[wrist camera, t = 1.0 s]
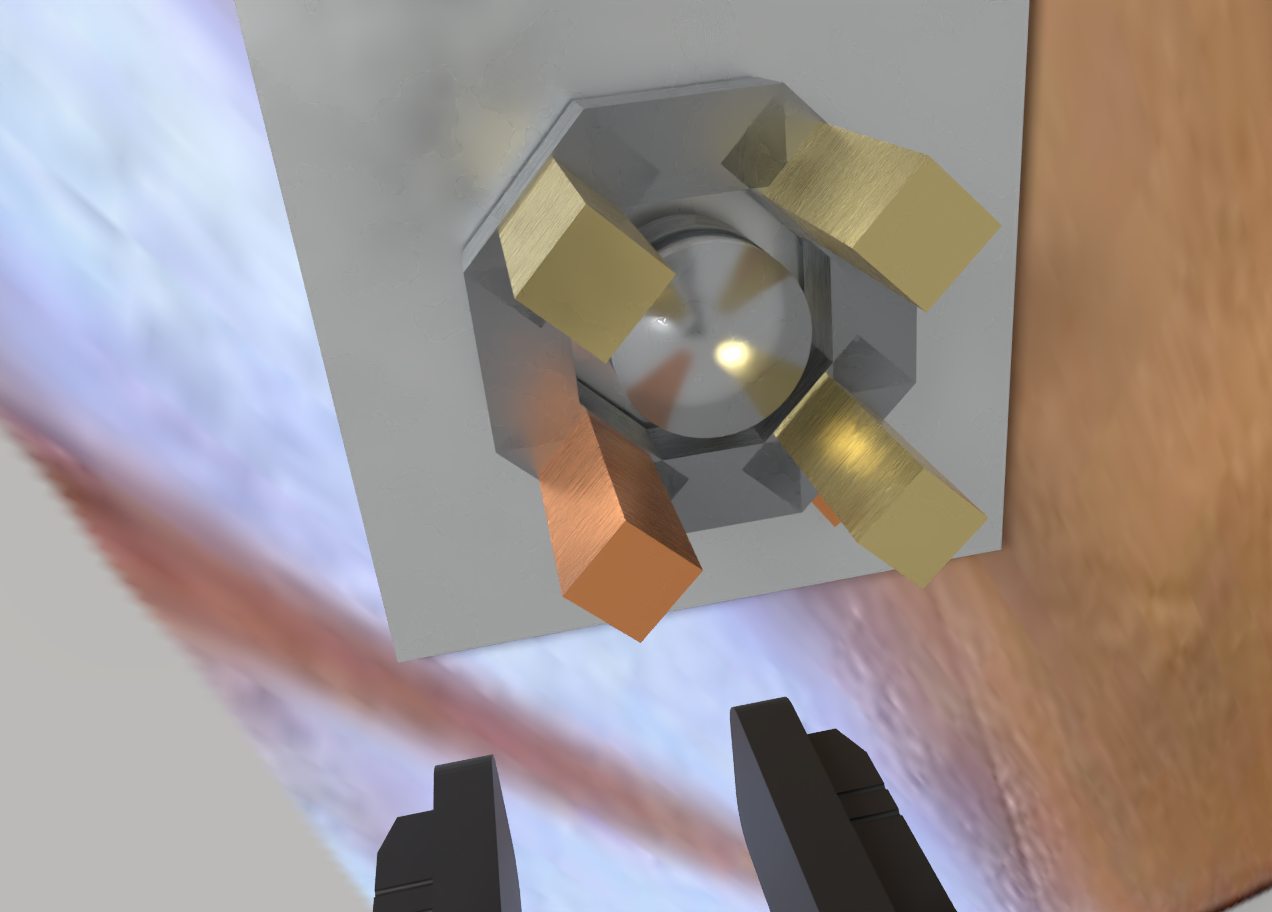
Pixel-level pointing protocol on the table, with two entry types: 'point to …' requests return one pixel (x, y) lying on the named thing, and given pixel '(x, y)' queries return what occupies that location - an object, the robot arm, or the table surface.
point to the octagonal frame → (635, 277)
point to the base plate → (677, 229)
